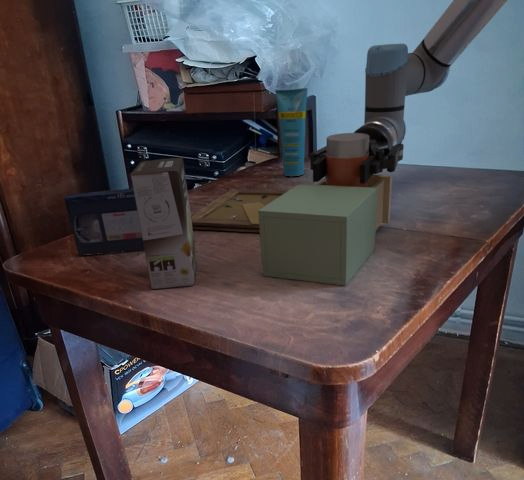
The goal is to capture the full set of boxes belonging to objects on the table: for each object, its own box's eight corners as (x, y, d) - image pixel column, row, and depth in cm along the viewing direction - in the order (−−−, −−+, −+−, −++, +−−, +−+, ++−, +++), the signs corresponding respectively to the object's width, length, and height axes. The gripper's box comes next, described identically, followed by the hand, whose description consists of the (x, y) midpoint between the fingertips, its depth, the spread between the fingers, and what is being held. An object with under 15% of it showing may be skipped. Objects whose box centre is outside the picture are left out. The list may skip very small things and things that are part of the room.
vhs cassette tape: (77, 257, 90) (62, 198, 85) (81, 251, 93) (66, 193, 88) (186, 247, 91) (177, 187, 86) (187, 241, 93) (178, 183, 88)
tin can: (372, 200, 89) (374, 132, 83) (360, 211, 84) (362, 140, 78) (333, 197, 91) (334, 132, 86) (320, 208, 86) (319, 140, 81)
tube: (277, 178, 130) (273, 90, 120) (280, 173, 134) (276, 88, 124) (308, 177, 128) (306, 88, 119) (310, 172, 132) (308, 86, 123)
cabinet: (300, 242, 89) (298, 184, 84) (374, 249, 84) (377, 187, 79) (262, 275, 78) (257, 210, 73) (346, 286, 73) (346, 216, 68)
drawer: (335, 210, 100) (335, 167, 96) (395, 214, 96) (398, 169, 92) (299, 241, 87) (297, 193, 83) (368, 247, 82) (369, 196, 78)
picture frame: (277, 234, 93) (314, 198, 112) (276, 224, 92) (314, 189, 111) (183, 229, 99) (233, 195, 118) (181, 220, 98) (232, 187, 117)
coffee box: (195, 286, 76) (179, 170, 68) (151, 290, 76) (128, 174, 68) (198, 262, 84) (183, 156, 76) (157, 266, 84) (138, 160, 76)
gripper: (425, 166, 97) (402, 201, 79) (321, 164, 104) (279, 195, 86) (429, 121, 93) (406, 148, 75) (321, 122, 100) (276, 147, 82)
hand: (338, 173), depth 81 cm, fingers closed on tin can, 7 cm apart
